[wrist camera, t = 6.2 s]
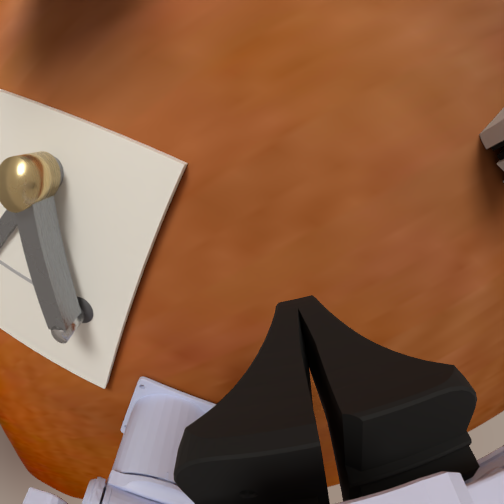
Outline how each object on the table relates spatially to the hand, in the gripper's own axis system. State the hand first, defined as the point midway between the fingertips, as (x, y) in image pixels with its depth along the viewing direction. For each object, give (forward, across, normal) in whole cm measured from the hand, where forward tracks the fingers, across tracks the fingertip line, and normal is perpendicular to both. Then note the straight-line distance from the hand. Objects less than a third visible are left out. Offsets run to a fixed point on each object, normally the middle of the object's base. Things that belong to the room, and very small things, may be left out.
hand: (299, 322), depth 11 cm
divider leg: (+8, +14, -4) cm, 17 cm away
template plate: (+10, +17, -4) cm, 20 cm away
